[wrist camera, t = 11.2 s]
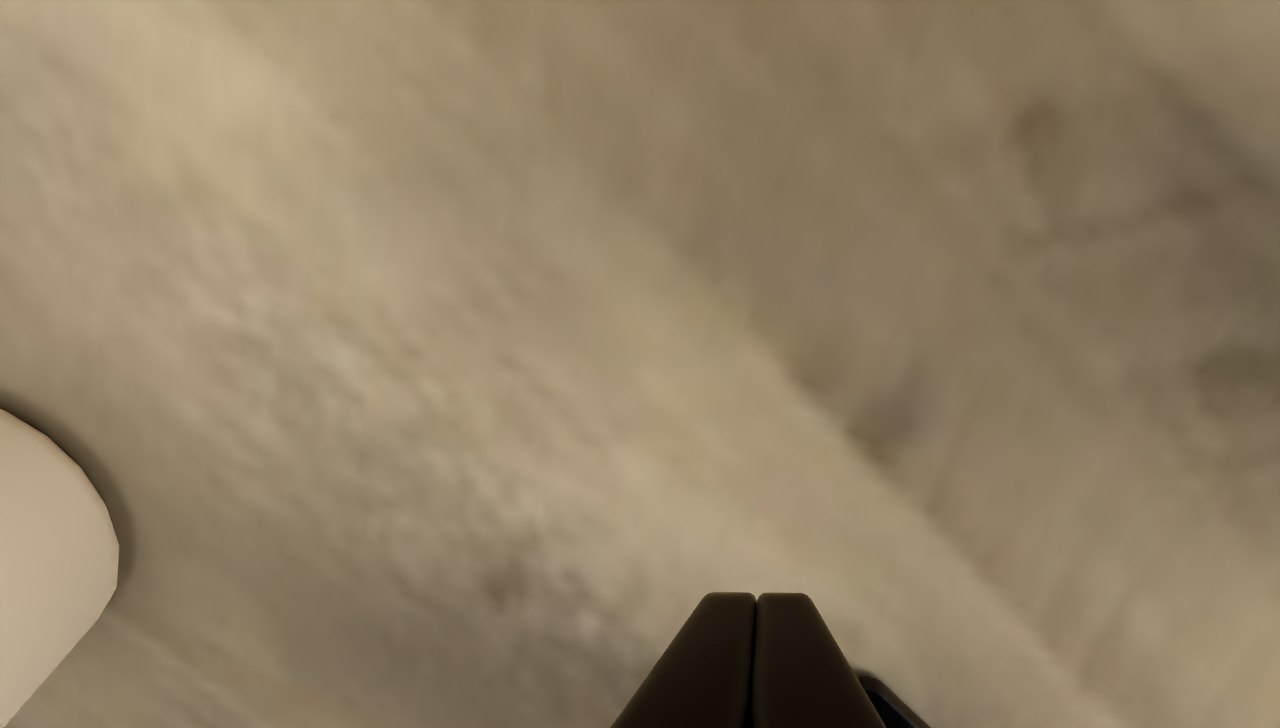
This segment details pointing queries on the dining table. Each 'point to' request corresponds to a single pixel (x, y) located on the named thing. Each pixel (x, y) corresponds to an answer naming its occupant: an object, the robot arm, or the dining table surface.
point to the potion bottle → (46, 559)
